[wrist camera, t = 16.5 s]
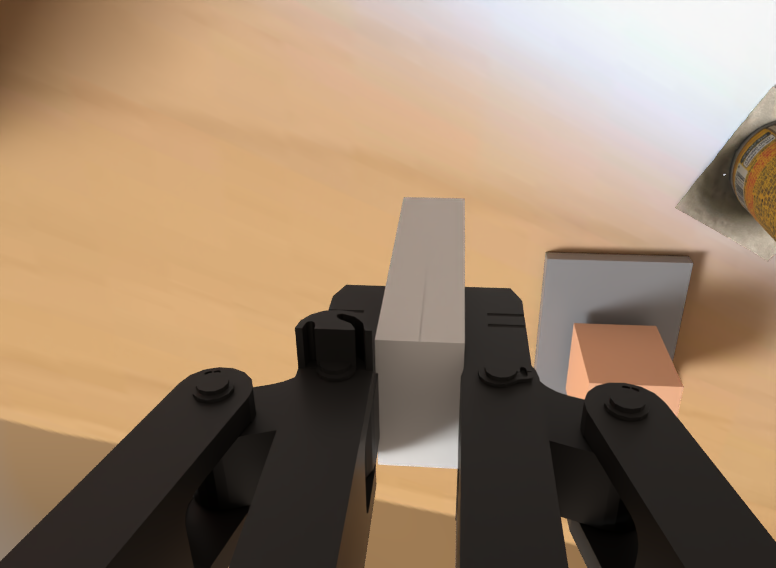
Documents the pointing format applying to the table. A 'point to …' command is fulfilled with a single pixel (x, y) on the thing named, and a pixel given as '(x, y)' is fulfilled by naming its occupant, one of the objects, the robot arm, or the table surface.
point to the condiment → (742, 184)
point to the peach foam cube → (622, 361)
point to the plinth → (606, 301)
